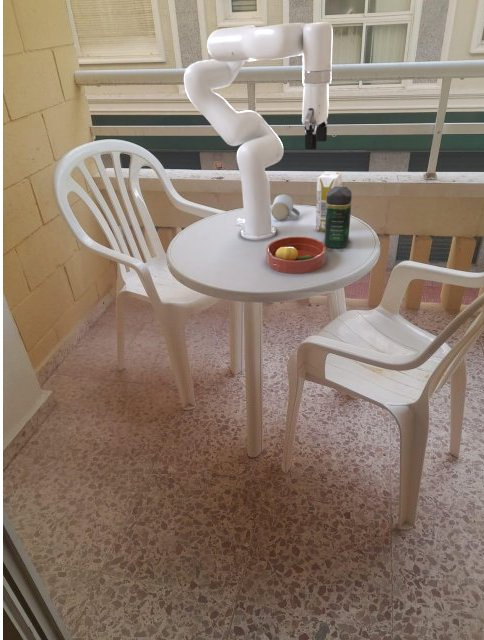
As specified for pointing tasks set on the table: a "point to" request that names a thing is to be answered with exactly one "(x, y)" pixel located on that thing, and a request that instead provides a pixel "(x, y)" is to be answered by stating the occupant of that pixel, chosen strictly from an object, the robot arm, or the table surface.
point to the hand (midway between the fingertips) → (316, 145)
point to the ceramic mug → (283, 208)
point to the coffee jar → (337, 217)
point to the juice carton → (323, 186)
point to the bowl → (303, 248)
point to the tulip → (290, 254)
